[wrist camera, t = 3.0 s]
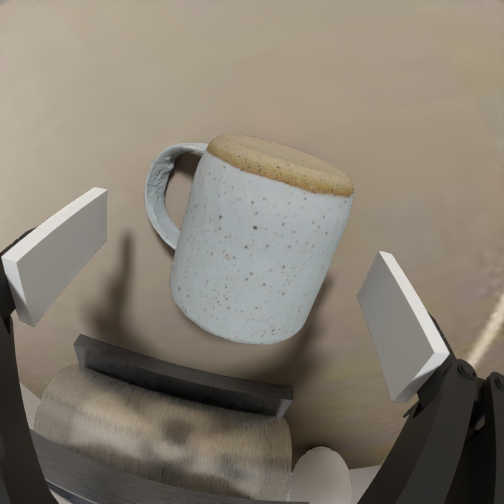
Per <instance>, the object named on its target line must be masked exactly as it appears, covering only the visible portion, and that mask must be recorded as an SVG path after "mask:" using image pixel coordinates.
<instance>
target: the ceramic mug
mask: <svg viewBox="0 0 504 504" xmlns="http://www.w3.org/2000/svg"><path fill="white" fill-rule="evenodd" d="M187 151H190V152H196V153H198V154H203V155H202V157H201V159H200V161H199V164H198V166H197V169H196V172H195V175H194V179H193V183H192V187H191V191H190V196H189V200H188V204H187V209H186V212H185V216H184V219H183V223H182V226H181V230H180V229H178V228H177V226H176V225H175V224H174V223H173V221H172V220H171V218H170V216H169V214H168V212H167V209H166V207H165V202H164V200H165V198H164V193H165V188H166V184H167V181H168V178H169V175H170V172H171V170H172V169H173V168H174V163H175V159H176V158H177V157H178V156H179V155H180V154H183V153H185V152H187ZM353 192H354V189H353V184H352V181H351V179H350V178H349V176H348V175H347V174H346V173H345V172H344V171H343V170H341V169H340V168H338V167H336V166H334V165H332V164H330V163H328V162H326V161H324V160H322V159H319V158H317V157H315V156H312V155H310V154H307V153H304V152H302V151H299V150H296V149H294V148H291V147H287V146H284V145H281V144H277V143H274V142H270V141H267V140H263V139H259V138H255V137H250V136H245V135H238V134H223V135H220V136H218V137H217V138H215V139H213V140H212V141H211V142H210V143H209V144H203V143H180V144H175V145H172V146H169V147H167V148H166V149H164V150H163V151H162V152H161V153H160V154H158V155H157V156H156V157H155V159H154V161H153V162H152V164H151V167H150V169H149V171H148V174H147V177H146V181H145V188H144V201H145V207H146V211H147V214H148V217H149V219H150V221H151V223H152V225H153V227H154V228H155V230H156V231H157V233H158V234H159V235H160V237H161V238H162V239H163V240H164V241H165V242H166V243H167V244H168V245H169V246H170V247H172V248H173V249H174V250H175V255H174V259H173V262H172V266H171V272H170V279H169V286H170V290H171V294H172V298H173V299H174V301H175V302H176V304H177V306H178V307H179V308H180V310H181V311H182V312H183V313H184V314H185V316H187V317H188V318H189V319H190V320H191V321H193V322H194V323H195V324H197V325H198V326H199V327H201V328H202V329H204V330H206V331H207V332H209V333H211V334H214V335H216V336H218V337H221V338H225V339H227V340H229V341H233V342H237V343H243V344H250V345H267V344H274V343H279V342H282V341H284V340H286V339H289V338H290V337H292V336H293V335H294V334H296V333H297V332H298V331H299V330H300V329H301V328H302V326H303V325H304V323H305V321H306V319H307V317H308V315H309V312H310V310H311V308H312V305H313V303H314V301H315V299H316V296H317V294H318V292H319V290H320V288H321V285H322V283H323V280H324V278H325V276H326V273H327V271H328V268H329V266H330V263H331V261H332V258H333V255H334V253H335V250H336V248H337V246H338V243H339V241H340V239H341V236H342V234H343V232H344V229H345V227H346V224H347V221H348V218H349V215H350V211H351V205H352V201H353Z"/></svg>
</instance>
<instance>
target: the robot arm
mask: <svg viewBox="0 0 504 504" xmlns="http://www.w3.org/2000/svg"><path fill="white" fill-rule="evenodd" d="M107 191H108V190H106V189H101V188H96V187H94V188H92V189H91V190H89V191H88V192H86V193H85V194H83V195H82V196H80V197H79V198H77V199H76V200H74V201H73V202H71V203H70V204H69V205H67V206H66V207H64V208H63V209H61V210H60V211H59V212H57V213H56V214H54V215H53V216H52V217H50V218H49V219H48V220H46V221H45V222H44V223H42V224H41V225H40V226H38V227H36V228H33V229H31V230H29V231H27V232H25V233H24V234H23V235H22V236H20V237H19V239H17V240H15V241H14V242H13V244H10V245H9V246H8V247H7V248H6V249H4V250H3V251H2V252H1V253H0V504H59V503H58V502H57V500H56V499H55V498H54V496H53V495H52V493H51V492H50V490H49V487H48V485H47V483H46V480H45V477H44V475H43V472H42V469H41V466H40V463H39V460H38V457H37V454H36V451H35V448H34V444H33V441H32V437H31V434H30V430H29V426H28V422H27V418H26V414H25V409H24V405H23V400H22V395H21V389H20V383H19V377H18V370H17V363H16V355H15V345H14V333H13V321H12V318H11V315H10V314H11V313H12V312H13V311H14V310H15V308H16V311H17V314H18V317H19V320H20V321H22V322H24V323H26V324H28V325H30V326H32V327H35V325H36V324H37V323H38V321H39V320H40V319H41V318H42V316H43V315H44V314H45V312H46V311H47V310H48V309H49V307H50V306H51V305H52V303H53V302H54V301H55V300H56V298H57V297H58V296H59V295H60V294H61V292H62V291H63V290H64V289H65V288H66V286H67V285H68V284H69V283H70V282H71V280H72V279H73V278H74V277H75V276H76V275H77V273H78V272H79V271H80V270H81V269H82V268H83V267H84V265H85V264H86V263H87V262H88V261H89V260H90V259H91V258H92V256H93V255H94V254H95V253H96V252H97V251H98V250H99V249H100V248H101V247H102V246H103V245H104V243H105V242H106V241H107ZM357 297H358V300H359V303H360V306H361V308H362V311H363V314H364V317H365V319H366V322H367V325H368V328H369V331H370V334H371V337H372V340H373V343H374V346H375V349H376V352H377V355H378V358H379V361H380V364H381V367H382V371H383V374H384V377H385V380H386V384H387V387H388V390H389V394H390V397H391V401H392V402H408V401H409V400H410V399H411V398H412V397H413V396H414V395H415V394H416V393H417V395H418V398H419V400H418V401H417V402H416V403H415V404H414V405H413V406H412V407H411V408H410V409H409V410H408V411H407V412H406V413H405V414H404V416H403V417H404V418H405V417H406V416H407V415H409V414H410V415H409V417H408V419H407V421H406V423H405V425H404V427H403V429H402V431H401V433H400V435H399V436H398V438H397V440H396V442H395V444H394V446H393V448H392V449H391V451H390V453H389V455H388V456H387V458H386V460H385V461H384V463H383V465H382V466H381V468H380V470H379V471H378V473H377V475H376V476H375V478H374V479H373V481H372V482H371V484H370V485H369V487H368V489H367V490H366V491H365V493H364V494H363V496H362V497H361V499H360V500H359V502H358V503H357V504H504V376H503V375H501V374H500V373H498V372H492V373H491V374H490V375H489V376H488V377H487V379H486V380H484V379H481V378H478V377H477V374H476V372H475V370H474V369H473V367H472V366H471V365H470V364H469V363H468V362H466V361H464V360H462V359H456V357H455V355H454V353H453V351H452V349H451V348H450V346H449V344H448V342H447V340H446V338H445V337H444V335H443V333H442V331H441V330H440V327H439V326H438V324H437V322H436V320H435V319H434V318H433V317H432V316H431V315H430V314H429V313H428V312H427V311H426V309H425V307H424V306H423V304H422V302H421V300H420V299H419V297H418V295H417V294H416V292H415V291H414V289H413V287H412V286H411V284H410V282H409V281H408V279H407V278H406V276H405V274H404V273H403V271H402V270H401V268H400V267H399V265H398V264H397V262H396V260H395V259H394V257H393V256H392V254H389V253H385V252H381V251H378V253H377V255H376V257H375V259H374V262H373V264H372V266H371V268H370V270H369V272H368V274H367V277H366V279H365V281H364V283H363V285H362V287H361V289H360V291H359V293H358V295H357ZM484 419H485V424H484V426H483V427H482V428H480V429H479V430H478V424H479V423H480V422H481V421H482V420H484Z"/></svg>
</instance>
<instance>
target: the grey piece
mask: <svg viewBox="0 0 504 504" xmlns="http://www.w3.org/2000/svg"><path fill="white" fill-rule="evenodd" d="M74 348H75V351H76V355H77V358H78V361H79V365H77V364H70V365H67V366H65V367H64V368H62V369H61V370H60V371H59V372H58V373H57V374H56V375H55V376H54V377H53V379H52V380H51V381H50V383H49V384H48V386H47V388H46V390H45V392H44V394H43V396H42V398H41V401H40V404H39V406H38V409H37V413H36V418H35V424H34V431H33V430H31V429H29V430H30V434H31V437H32V441H33V444H34V448H35V451H36V454H37V457H38V460H39V463H40V466H41V469H42V472H43V475H44V477H45V480H46V483H47V485H48V487H49V490H50V491H51V492H53V493H54V494H56V495H58V496H59V497H60V498H62V499H64V500H66V501H68V502H70V503H72V504H309V502H286V497H287V493H288V489H289V483H290V476H291V467H292V443H291V435H290V430H289V426H288V424H287V422H286V420H285V419H284V418H282V417H283V415H284V414H285V412H286V410H287V409H288V407H289V406H290V404H291V403H292V401H293V388H291V387H284V386H278V385H271V384H265V383H259V382H253V381H248V380H242V379H237V378H232V377H227V376H222V375H218V374H213V373H209V372H204V371H200V370H196V369H192V368H188V367H184V366H180V365H176V364H172V363H168V362H165V361H161V360H157V359H154V358H150V357H147V356H144V355H140V354H137V353H134V352H131V351H128V350H124V349H121V348H118V347H115V346H112V345H109V344H106V343H104V342H101V341H98V340H95V339H92V338H90V337H87V336H84V335H82V334H80V335H79V337H78V338H77V340H76V341H75V343H74Z"/></svg>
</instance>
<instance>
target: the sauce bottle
mask: <svg viewBox="0 0 504 504" xmlns="http://www.w3.org/2000/svg"><path fill="white" fill-rule="evenodd" d="M351 500H352V483H351V477H350V473H349V470H348V467H347V465H346V463H345V461H344V460H343V458H342V457H341V456H340V455H339V454H338V453H337V452H335V451H332V450H331V449H330V448H326V447H323V446H319V447H314V448H313V449H311V450H308V451H307V452H306V454H305V455H303V456H301V457H300V459H299V460H298V462H297V464H296V466H295V468H294V470H293V473H292V476H291V481H290V502H309V504H351Z"/></svg>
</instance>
